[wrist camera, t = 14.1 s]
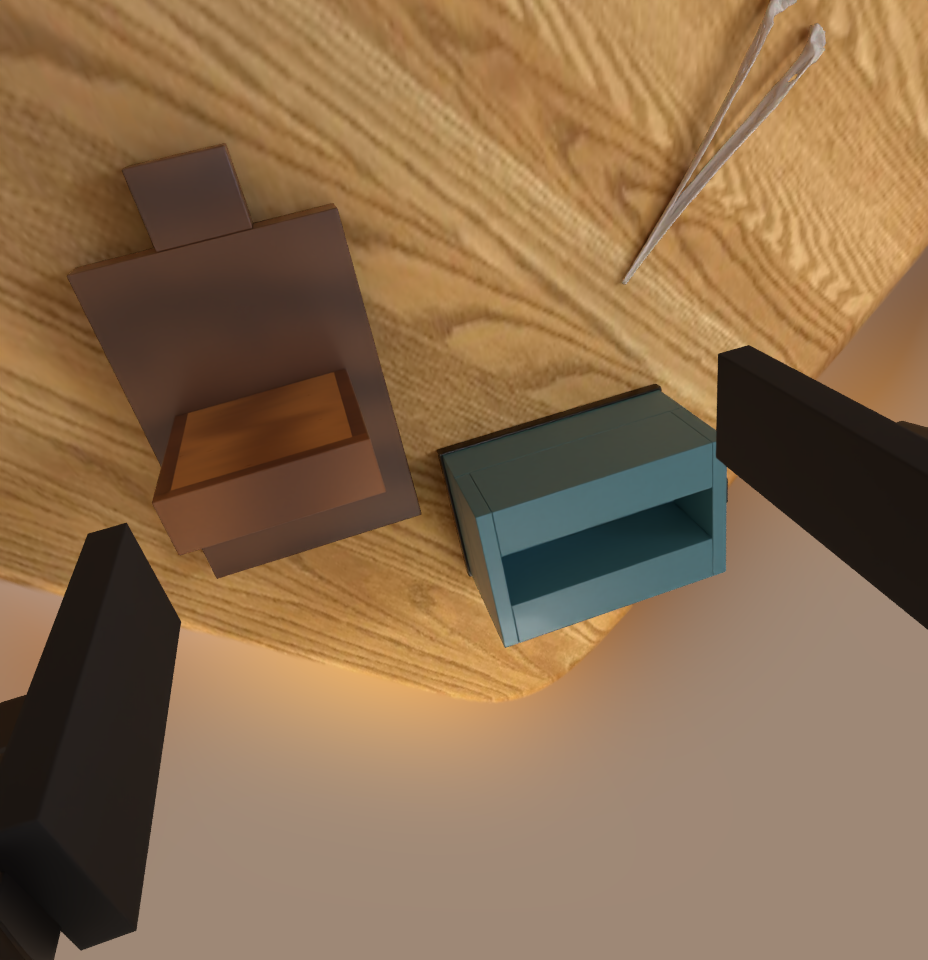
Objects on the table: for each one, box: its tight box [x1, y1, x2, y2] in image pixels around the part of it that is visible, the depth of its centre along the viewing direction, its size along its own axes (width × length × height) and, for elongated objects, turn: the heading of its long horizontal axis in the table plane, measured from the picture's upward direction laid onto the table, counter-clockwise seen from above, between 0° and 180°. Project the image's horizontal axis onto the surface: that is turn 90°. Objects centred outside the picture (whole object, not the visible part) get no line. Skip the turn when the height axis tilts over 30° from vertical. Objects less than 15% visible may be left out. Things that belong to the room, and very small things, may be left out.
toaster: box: [437, 384, 728, 648], centre depth 47 cm, size 17×11×9 cm, turn 101°
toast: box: [152, 369, 386, 555], centre depth 36 cm, size 10×3×10 cm, turn 101°
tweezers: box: [622, 0, 826, 284], centre depth 41 cm, size 17×5×2 cm, turn 148°
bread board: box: [67, 143, 421, 579], centre depth 40 cm, size 24×14×2 cm, turn 11°
